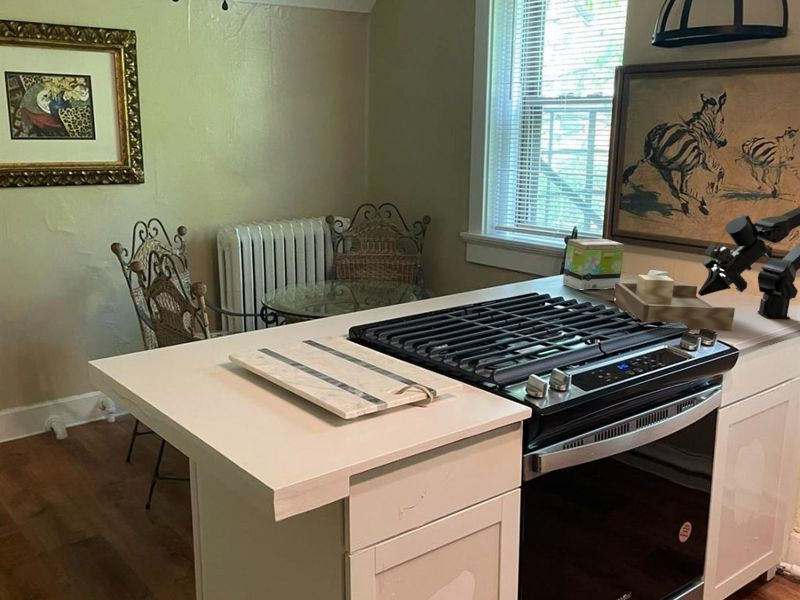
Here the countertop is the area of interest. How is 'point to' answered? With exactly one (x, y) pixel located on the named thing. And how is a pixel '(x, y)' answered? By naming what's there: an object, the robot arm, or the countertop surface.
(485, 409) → the countertop surface
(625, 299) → the trap box
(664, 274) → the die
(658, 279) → the maple block
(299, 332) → the countertop surface
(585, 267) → the tea box
